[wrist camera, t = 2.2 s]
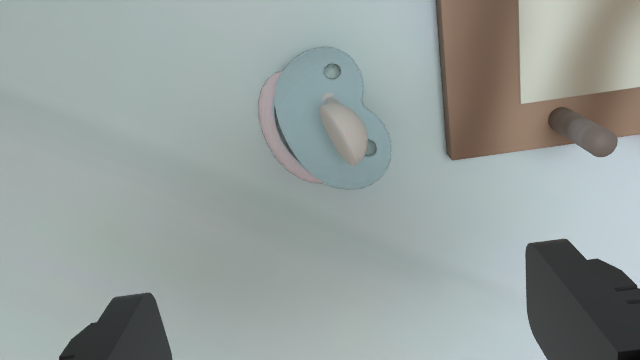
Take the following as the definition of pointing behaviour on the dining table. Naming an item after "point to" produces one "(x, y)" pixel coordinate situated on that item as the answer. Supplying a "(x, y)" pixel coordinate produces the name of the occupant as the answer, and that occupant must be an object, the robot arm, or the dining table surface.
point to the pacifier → (323, 122)
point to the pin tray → (538, 74)
